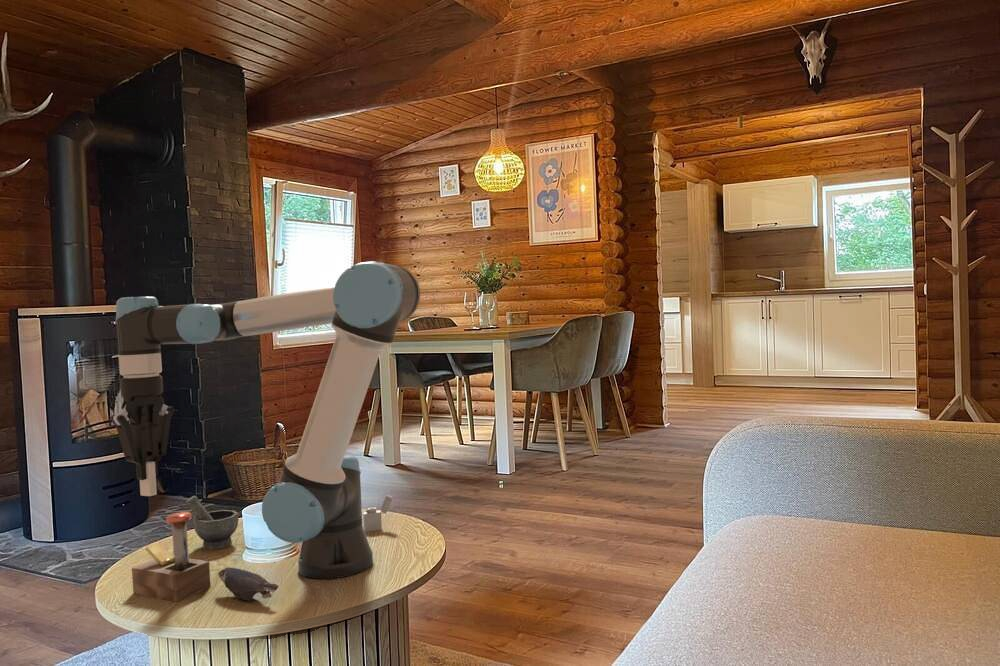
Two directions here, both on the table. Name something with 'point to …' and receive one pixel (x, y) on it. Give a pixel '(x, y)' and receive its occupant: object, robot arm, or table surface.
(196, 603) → the table surface
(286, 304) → the robot arm
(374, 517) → the lighter
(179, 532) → the red-capped peg
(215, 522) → the mortar and pestle
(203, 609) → the table surface
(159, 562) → the golden rectangular bar
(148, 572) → the block
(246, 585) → the bird model
